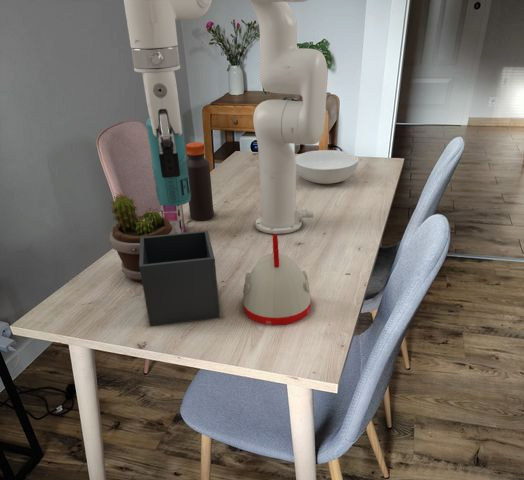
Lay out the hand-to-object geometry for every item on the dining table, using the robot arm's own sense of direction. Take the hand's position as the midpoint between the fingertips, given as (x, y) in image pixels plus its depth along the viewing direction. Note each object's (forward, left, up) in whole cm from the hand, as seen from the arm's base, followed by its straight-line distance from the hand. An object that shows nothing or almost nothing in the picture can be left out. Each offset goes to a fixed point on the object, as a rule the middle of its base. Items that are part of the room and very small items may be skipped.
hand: (170, 170), depth 97 cm
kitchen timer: (-18, +6, -28) cm, 34 cm away
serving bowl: (-50, -72, -28) cm, 92 cm away
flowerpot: (+8, -16, -28) cm, 33 cm away
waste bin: (+1, +1, -28) cm, 28 cm away
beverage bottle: (0, 0, -7) cm, 7 cm away
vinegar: (-7, -49, -28) cm, 57 cm away
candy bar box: (+1, -37, -28) cm, 46 cm away
